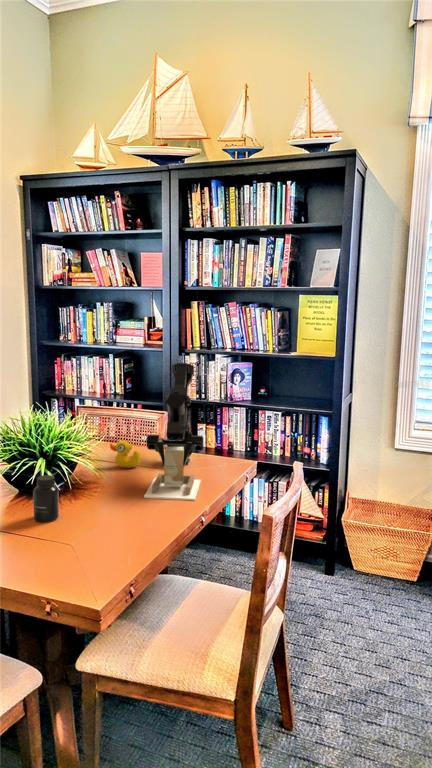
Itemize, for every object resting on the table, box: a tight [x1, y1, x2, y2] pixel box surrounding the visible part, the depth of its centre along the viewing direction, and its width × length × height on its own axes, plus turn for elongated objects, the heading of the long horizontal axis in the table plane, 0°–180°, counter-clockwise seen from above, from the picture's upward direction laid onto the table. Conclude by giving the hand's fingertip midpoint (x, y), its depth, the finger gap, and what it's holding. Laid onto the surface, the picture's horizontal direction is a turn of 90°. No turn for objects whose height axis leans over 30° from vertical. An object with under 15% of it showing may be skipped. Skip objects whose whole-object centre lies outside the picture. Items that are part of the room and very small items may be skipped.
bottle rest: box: [143, 473, 202, 501], centre depth 182 cm, size 18×16×3 cm
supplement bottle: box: [32, 474, 60, 524], centre depth 156 cm, size 7×7×12 cm
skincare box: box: [163, 445, 185, 486], centre depth 181 cm, size 6×4×12 cm
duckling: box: [109, 440, 142, 469], centre depth 203 cm, size 11×5×10 cm, turn 86°
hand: (173, 465), depth 180 cm, fingers closed on skincare box, 6 cm apart
